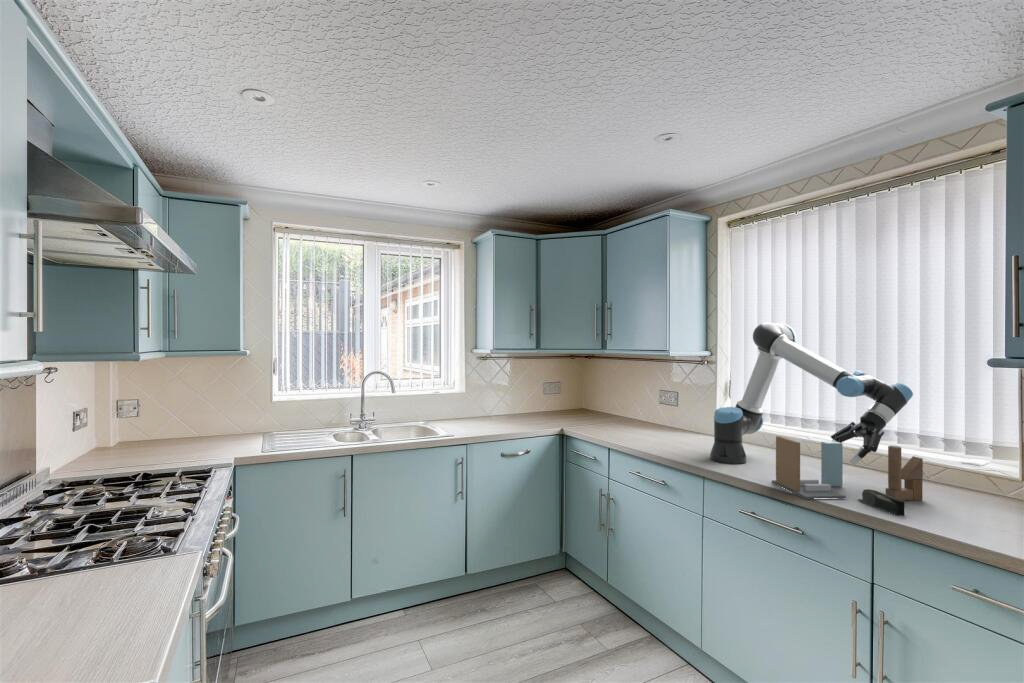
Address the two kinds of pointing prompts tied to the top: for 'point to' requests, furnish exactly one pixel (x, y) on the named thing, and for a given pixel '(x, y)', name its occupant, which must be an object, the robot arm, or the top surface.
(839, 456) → the door panel
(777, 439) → the stand
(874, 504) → the black stapler
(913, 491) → the wooden block
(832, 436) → the robot arm
